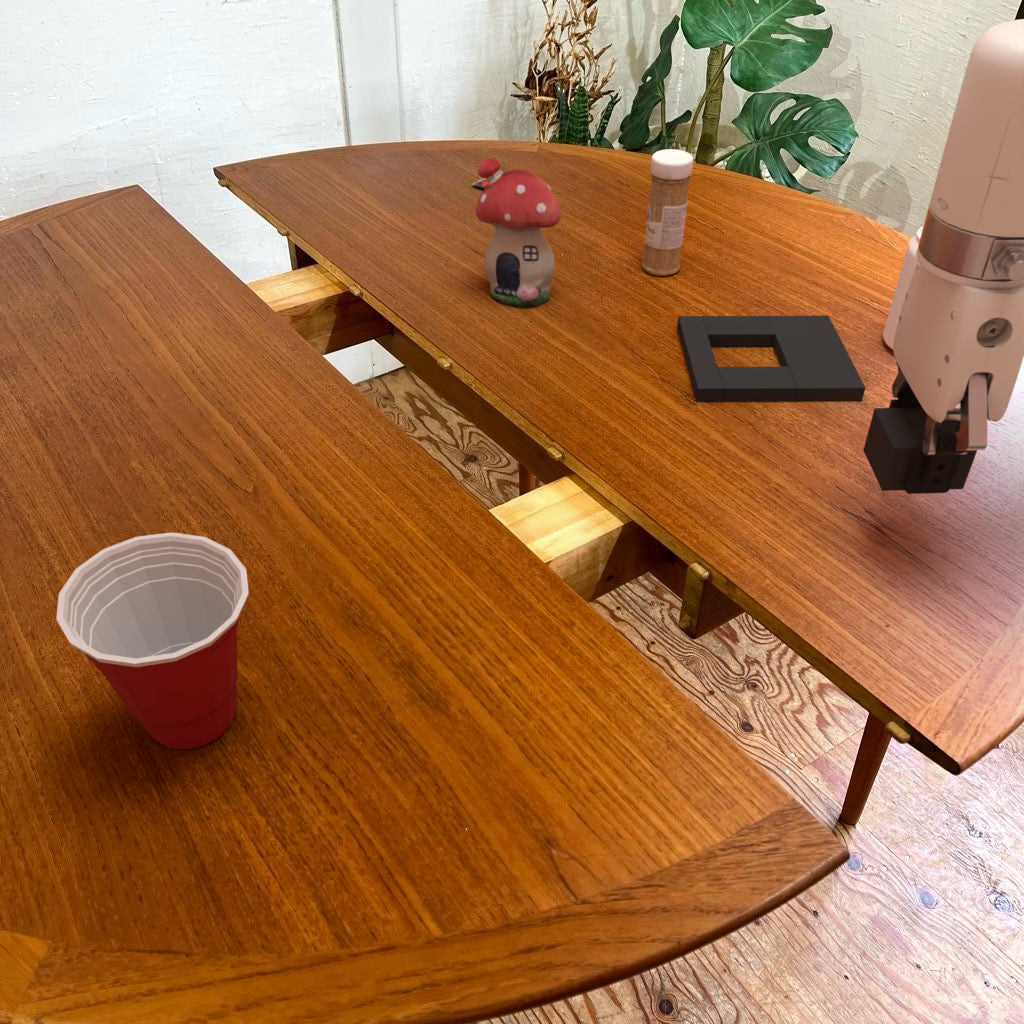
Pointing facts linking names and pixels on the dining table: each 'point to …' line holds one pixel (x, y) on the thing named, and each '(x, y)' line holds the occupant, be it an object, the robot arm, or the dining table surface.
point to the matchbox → (481, 183)
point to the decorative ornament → (517, 234)
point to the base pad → (799, 348)
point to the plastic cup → (162, 631)
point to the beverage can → (901, 289)
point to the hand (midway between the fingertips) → (913, 464)
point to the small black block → (904, 446)
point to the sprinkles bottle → (667, 211)
